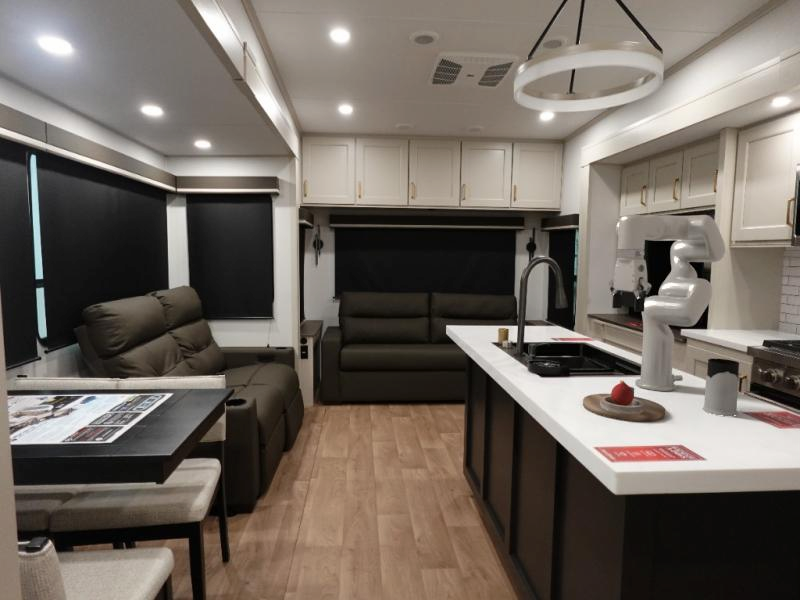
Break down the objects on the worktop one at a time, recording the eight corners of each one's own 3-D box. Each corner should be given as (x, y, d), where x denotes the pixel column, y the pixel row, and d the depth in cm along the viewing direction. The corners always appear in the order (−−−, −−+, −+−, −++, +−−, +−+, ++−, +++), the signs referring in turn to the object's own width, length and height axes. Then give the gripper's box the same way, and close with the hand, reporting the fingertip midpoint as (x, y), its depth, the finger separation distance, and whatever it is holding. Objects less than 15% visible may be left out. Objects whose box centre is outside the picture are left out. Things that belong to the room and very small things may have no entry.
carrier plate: (627, 396, 156) (628, 382, 155) (683, 418, 135) (685, 402, 134) (567, 400, 150) (568, 386, 150) (616, 424, 129) (617, 408, 129)
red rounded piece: (628, 405, 141) (629, 378, 141) (635, 411, 136) (637, 383, 135) (607, 404, 142) (609, 377, 141) (614, 410, 136) (615, 382, 136)
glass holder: (706, 414, 138) (710, 363, 137) (693, 400, 152) (697, 353, 151) (742, 418, 136) (746, 365, 134) (726, 403, 149) (729, 355, 148)
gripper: (662, 255, 144) (658, 312, 145) (621, 255, 160) (618, 306, 162) (640, 255, 142) (637, 313, 143) (601, 255, 158) (599, 307, 160)
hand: (627, 309), depth 153 cm, fingers open, 9 cm apart
